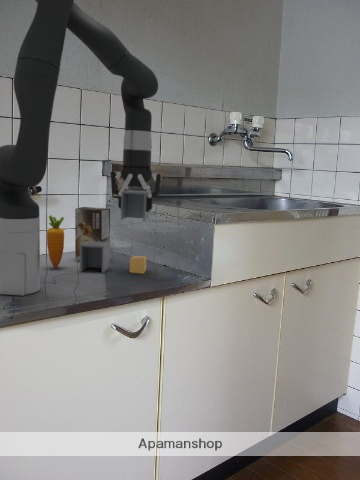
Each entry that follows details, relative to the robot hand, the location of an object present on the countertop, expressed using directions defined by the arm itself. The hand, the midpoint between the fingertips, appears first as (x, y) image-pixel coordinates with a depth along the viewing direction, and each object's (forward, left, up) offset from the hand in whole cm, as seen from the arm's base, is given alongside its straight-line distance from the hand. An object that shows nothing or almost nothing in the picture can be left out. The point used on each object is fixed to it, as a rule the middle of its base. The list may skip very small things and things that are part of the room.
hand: (135, 210), depth 134 cm
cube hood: (0, 0, -2) cm, 2 cm away
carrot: (-1, +22, -17) cm, 28 cm away
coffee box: (+12, +15, -17) cm, 26 cm away
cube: (+1, -1, -17) cm, 17 cm away
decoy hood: (0, +11, -17) cm, 20 cm away
